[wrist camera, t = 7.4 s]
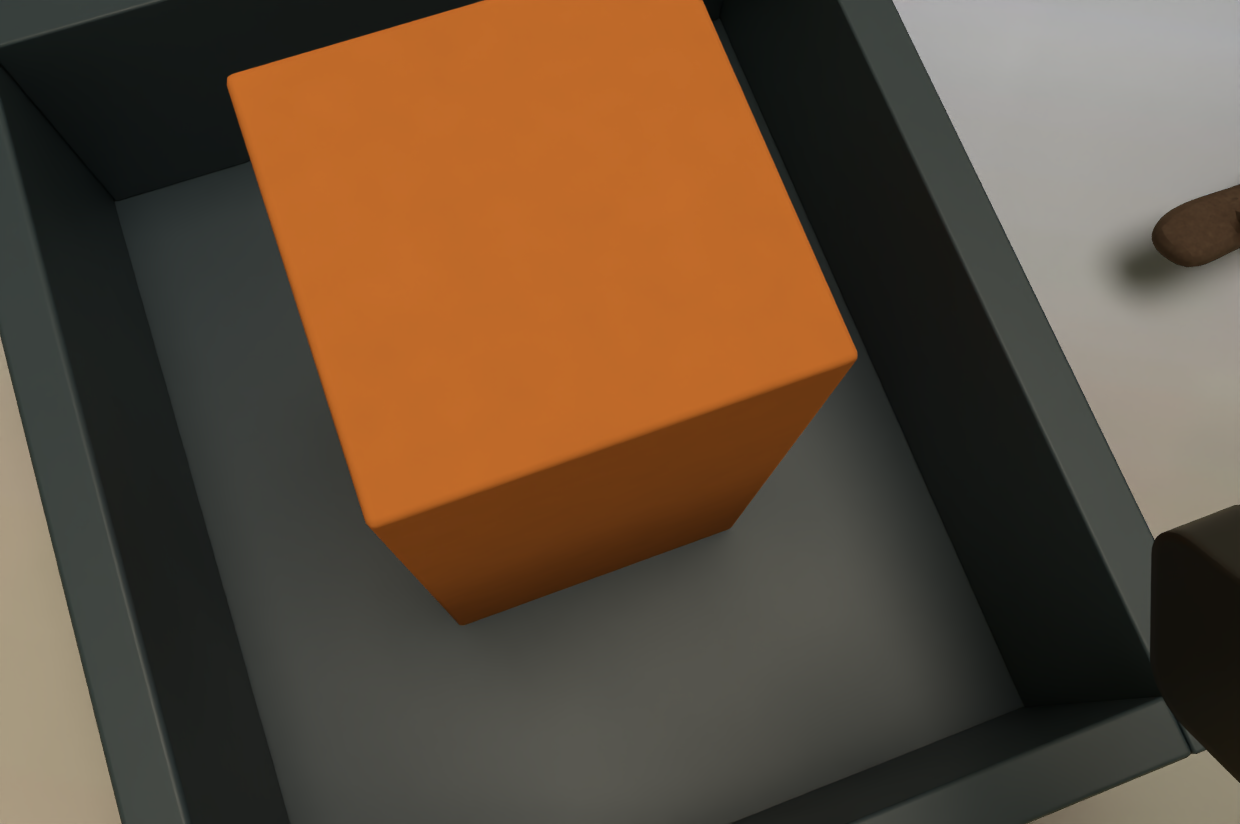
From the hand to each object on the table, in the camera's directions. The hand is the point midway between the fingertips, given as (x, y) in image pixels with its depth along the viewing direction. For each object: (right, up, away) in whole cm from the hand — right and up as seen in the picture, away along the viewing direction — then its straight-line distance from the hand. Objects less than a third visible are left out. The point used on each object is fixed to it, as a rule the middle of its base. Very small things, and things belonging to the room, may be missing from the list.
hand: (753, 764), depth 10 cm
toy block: (-2, +2, +11) cm, 11 cm away
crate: (-2, +2, +11) cm, 12 cm away
